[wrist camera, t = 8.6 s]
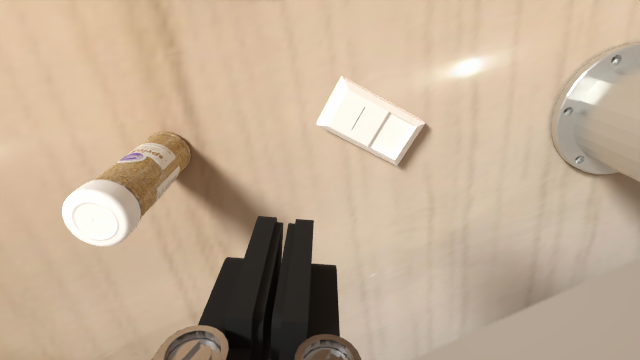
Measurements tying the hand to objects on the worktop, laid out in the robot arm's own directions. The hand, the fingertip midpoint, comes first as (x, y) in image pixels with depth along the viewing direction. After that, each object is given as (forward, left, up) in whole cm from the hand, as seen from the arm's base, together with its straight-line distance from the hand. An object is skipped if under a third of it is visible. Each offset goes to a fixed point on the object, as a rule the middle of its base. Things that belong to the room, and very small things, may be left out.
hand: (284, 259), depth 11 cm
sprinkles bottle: (+14, +6, -26) cm, 30 cm away
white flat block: (-6, +2, -26) cm, 27 cm away
